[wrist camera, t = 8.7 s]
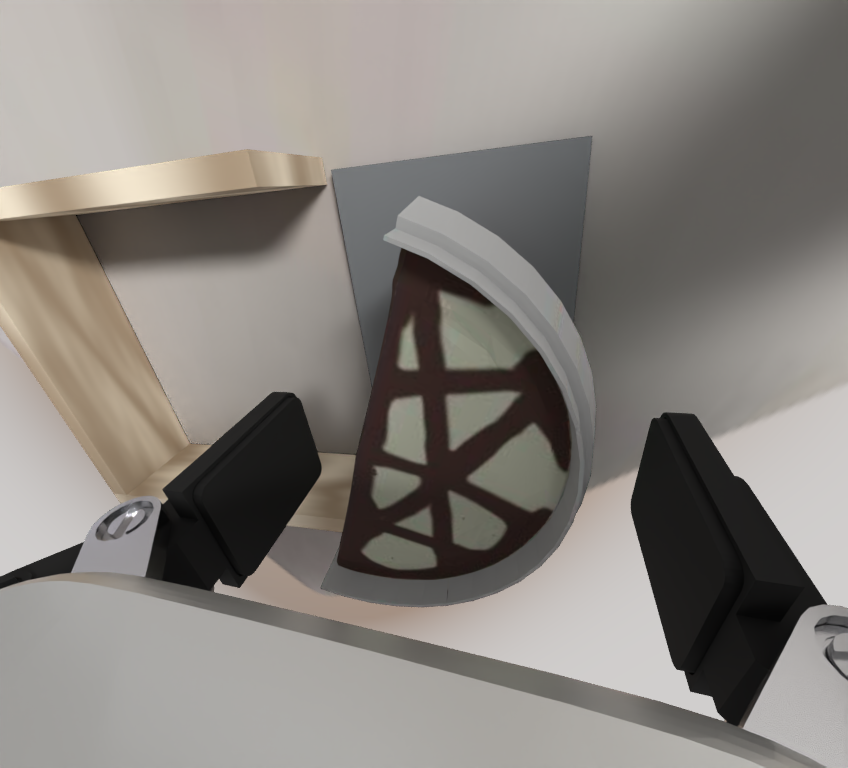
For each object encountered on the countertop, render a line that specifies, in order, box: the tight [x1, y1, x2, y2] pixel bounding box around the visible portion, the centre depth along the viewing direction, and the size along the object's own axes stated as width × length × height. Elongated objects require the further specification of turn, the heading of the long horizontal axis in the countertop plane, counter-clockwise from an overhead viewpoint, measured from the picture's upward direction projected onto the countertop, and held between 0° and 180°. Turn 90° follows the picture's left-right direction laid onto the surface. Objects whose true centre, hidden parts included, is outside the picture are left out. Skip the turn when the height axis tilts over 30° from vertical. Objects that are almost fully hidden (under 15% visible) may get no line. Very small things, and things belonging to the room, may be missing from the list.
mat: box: [331, 136, 592, 387], centre depth 17 cm, size 10×14×1 cm
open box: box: [0, 149, 356, 532], centre depth 19 cm, size 16×17×5 cm
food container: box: [321, 196, 596, 607], centre depth 13 cm, size 12×6×10 cm, turn 166°
